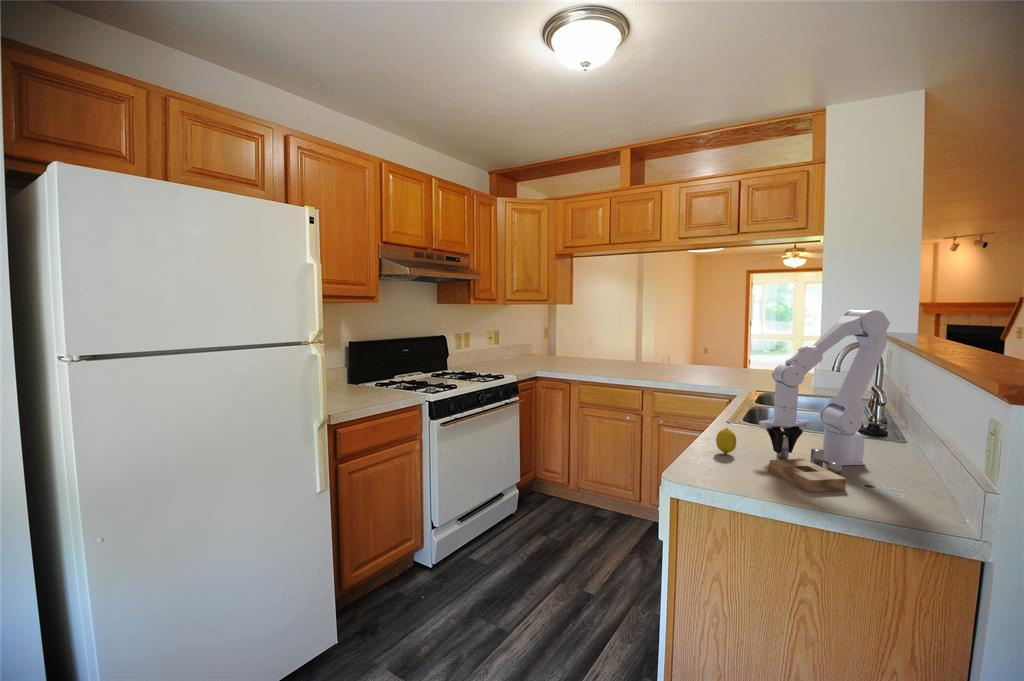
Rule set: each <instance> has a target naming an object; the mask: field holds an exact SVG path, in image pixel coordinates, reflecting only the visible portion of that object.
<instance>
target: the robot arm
mask: <svg viewBox="0 0 1024 681" xmlns="http://www.w3.org/2000/svg"><path fill="white" fill-rule="evenodd" d="M889 327H890V320H889V319H888V317H887V316H886V314H885V313H884V312H883V311H881V310H878V309H872V310H871V309H869V310H868V309H867V310H864V309H856V308H855V309H852V308H851V309H849V310H848V311H846V312H845V313H844V314H843V315H841V316H839V317H838V319H837V320H836V323H835V324H833V325H832V326H831V327H830V328H829V329H828V330H826V332H825V333H824V334H823V335H822V336H821V337H820V338H818V340H817V341H815V342H814V344H812V345H805V346H804V347H802V346H800V347H799V348H798V349H797V352H796V353H795V354H794V355H792V356H791V357H790V358H789V359H786V360H785V361H784V362H785V363H782V364H779V365H777V366H776V367H775V368H774V371H773V372H772V373H771V376H772V379H773V381H775V383H774V384H775V386H774V387H775V390H774V402H773V403H774V406H773V417H772V418H770V419H766V420H765V419H764V420H759V422H758V427H759V428H760V429H762V430H766V432H767V433H768V436H769V437H770V440H771V445H772V449H773V450H772V451H773V452H775V453H776V454H777V453H781V448H782V441H783V437H784V435H788V436H790V440H789V454H792V453H793V450H794V449H795V445H796V443H797V441H798V439H799V438H800V437H801V435H802V434H803V433H804V432H803V431H804V430H803V429H802V428H806V429H808V428H810V423H811V421H810V420H808V419H797V418H798V417H797V414H798V401H799V386H800V385H801V384H802V383H803V382H804V380H805V376H806V375H807V374H808V373H809V372H810V371H811V370H813V369H814V367H816V366H817V365H819V363H821V362H822V361H823V359H824V358H823V357H824V356H823V354H825V353H826V352H828V351H829V350H830V349H832V347H833V348H834V347H835V345H837V344H838V343H840V342H841V341H843V340H844V339H845V338H846V337H848V336H853V337H855V338H856V341H857V343H859V347H858V350H857V351H856V354H855V357H854V358H853V360H852V362H851V365H850V366H849V369H848V372H847V374H846V375H845V378H844V380H843V383H842V385H841V387H840V389H839V391H838V393H837V394H836V395H835V396H834V397H831V398H830V399H829V400H828V402H827V404H825V406H823V407H822V408H821V410H820V413H819V419H820V420H821V422H822V423H823V428H824V429H823V439H822V440H823V442H822V443H823V444H822V450H824V460H823V462H826V463H828V461H835V462H839V463H841V464H842V467H843V466H862V465H863V466H864V465H866V462H864V451H865V439H864V437H863V434H862V433H860V432H859V430H860V429H861V428H862V425H863V415H864V409H863V406H862V405H861V401H862V399H863V397H864V395H865V393H866V390H867V389H868V386H869V384H870V381H871V380H872V377H873V375H874V373H875V371H876V369H877V366H878V364H879V362H880V361H881V358H882V356H883V354H884V352H885V349H886V347H887V345H888V344H887V343H888V341H887V339H888V338H887V337H888V336H887V335H888V334H887V331H888V328H889Z"/></svg>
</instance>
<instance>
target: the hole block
mask: <svg viewBox="0 0 1024 681" xmlns="http://www.w3.org/2000/svg"><path fill="white" fill-rule="evenodd" d="M768 467H769V469H768V471H769V470H770V471H772V472H773V473H772V472H771V473H772V474H774V473H775V474H774V475H776V474H777V476H778V475H779V476H780V478H781V477H782V478H781V479H783V478H784V479H783V480H785V481H787V482H789V483H790V482H791V483H790V484H792V483H793V485H795V487H798V488H799V487H800V489H801V488H802V489H801V490H803V491H805V492H806V493H820V492H824V491H825V492H841V491H846V488H847V486H846V485H847V477H844V476H842V475H841V476H840V475H837V474H835V473H833V472H831V471H829V470H827V469H828V468H827V469H826V468H824V467H823V468H822V467H820V466H818V465H816V464H814V463H811V462H810V460H807V459H804V458H792V459H789V458H788V459H785V460H777V459H769V466H768ZM770 471H769V472H770ZM779 476H778V477H779Z"/></svg>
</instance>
